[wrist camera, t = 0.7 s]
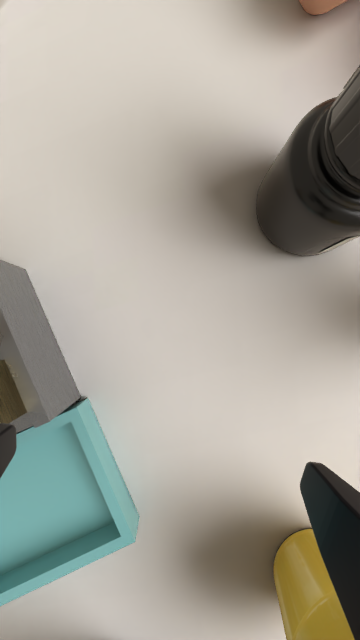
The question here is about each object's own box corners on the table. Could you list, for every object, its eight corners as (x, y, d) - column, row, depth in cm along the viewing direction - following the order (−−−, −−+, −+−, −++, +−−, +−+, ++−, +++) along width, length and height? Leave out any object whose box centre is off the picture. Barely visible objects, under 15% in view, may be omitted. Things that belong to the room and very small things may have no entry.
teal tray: (139, 516, 21) (135, 541, 19) (-17, 590, 21) (-42, 626, 18) (87, 397, 21) (76, 407, 19) (-69, 467, 21) (-101, 487, 18)
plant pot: (308, 479, 22) (419, 602, 12) (391, 562, 22) (569, 752, 12) (226, 567, 21) (271, 770, 12) (311, 652, 21) (428, 925, 12)
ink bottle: (336, 273, 22) (524, 212, 10) (242, 247, 22) (324, 154, 10) (361, 171, 23) (572, -2, 11) (269, 144, 23) (379, -62, 11)
